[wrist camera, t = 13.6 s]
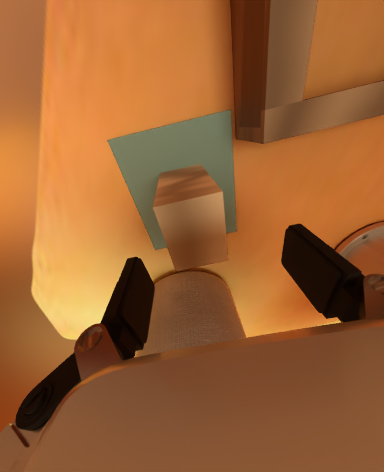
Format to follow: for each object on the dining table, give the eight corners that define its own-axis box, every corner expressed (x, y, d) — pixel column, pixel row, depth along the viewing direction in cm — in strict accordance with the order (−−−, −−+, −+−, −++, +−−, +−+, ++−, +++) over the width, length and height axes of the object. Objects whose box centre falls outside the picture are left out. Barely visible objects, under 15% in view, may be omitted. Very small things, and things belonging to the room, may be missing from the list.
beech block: (200, 163, 17) (222, 191, 10) (207, 212, 21) (228, 259, 14) (160, 173, 18) (152, 207, 10) (174, 220, 21) (176, 271, 14)
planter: (144, 264, 25) (118, 405, 13) (239, 268, 28) (296, 385, 15) (144, 320, 34) (129, 436, 21) (217, 318, 37) (242, 419, 24)
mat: (229, 109, 15) (230, 109, 15) (235, 229, 23) (236, 231, 23) (108, 139, 16) (107, 140, 15) (155, 248, 24) (155, 249, 23)
